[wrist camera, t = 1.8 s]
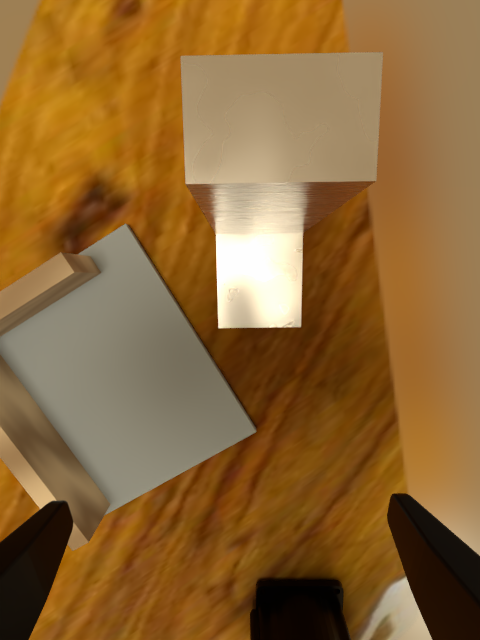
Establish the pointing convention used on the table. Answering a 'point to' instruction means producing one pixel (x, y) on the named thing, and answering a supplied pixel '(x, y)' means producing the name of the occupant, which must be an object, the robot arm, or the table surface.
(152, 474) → the slate board
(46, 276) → the board walls
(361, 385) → the table surface
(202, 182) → the bracket
